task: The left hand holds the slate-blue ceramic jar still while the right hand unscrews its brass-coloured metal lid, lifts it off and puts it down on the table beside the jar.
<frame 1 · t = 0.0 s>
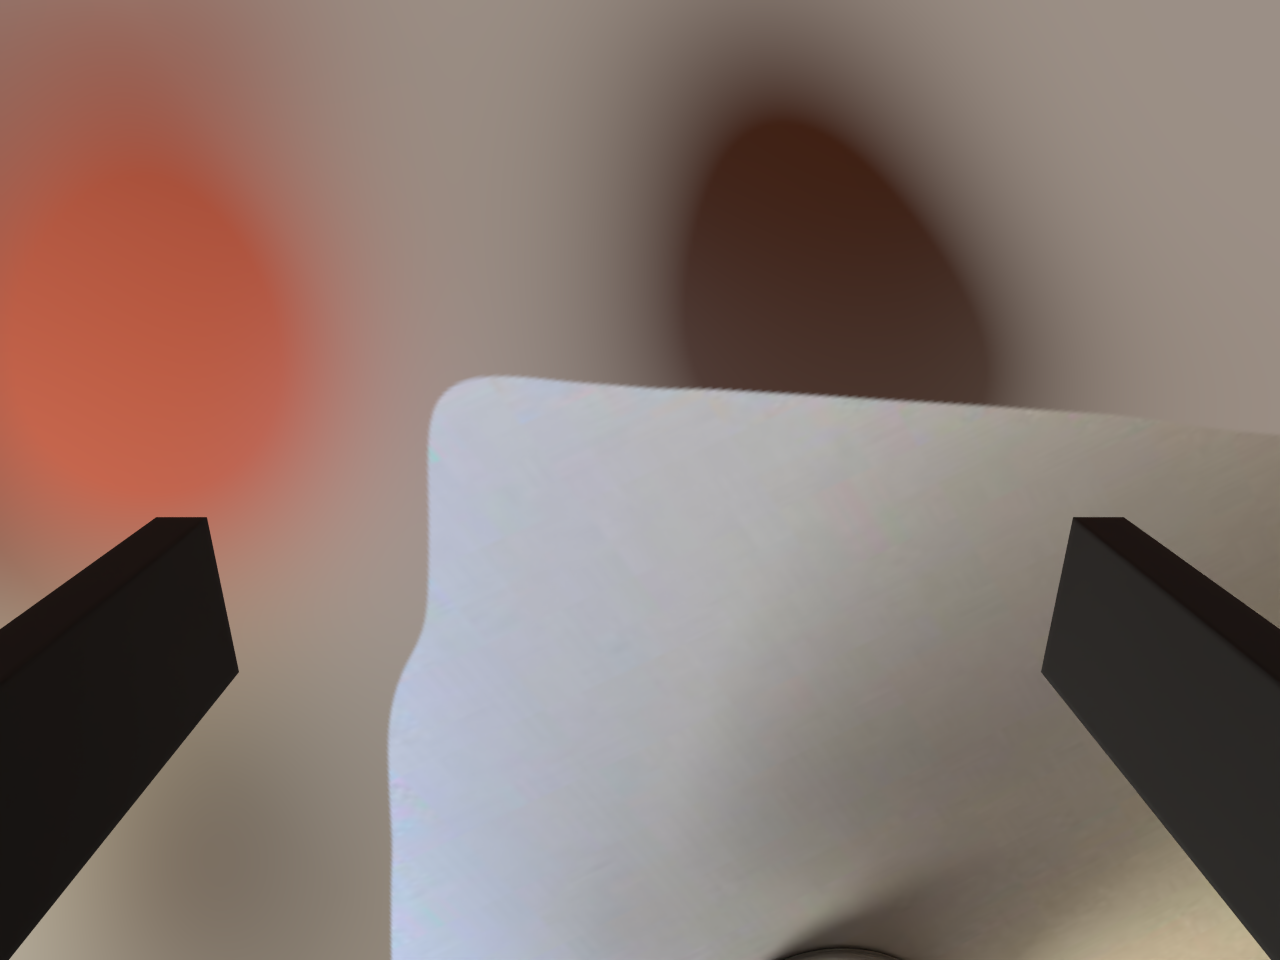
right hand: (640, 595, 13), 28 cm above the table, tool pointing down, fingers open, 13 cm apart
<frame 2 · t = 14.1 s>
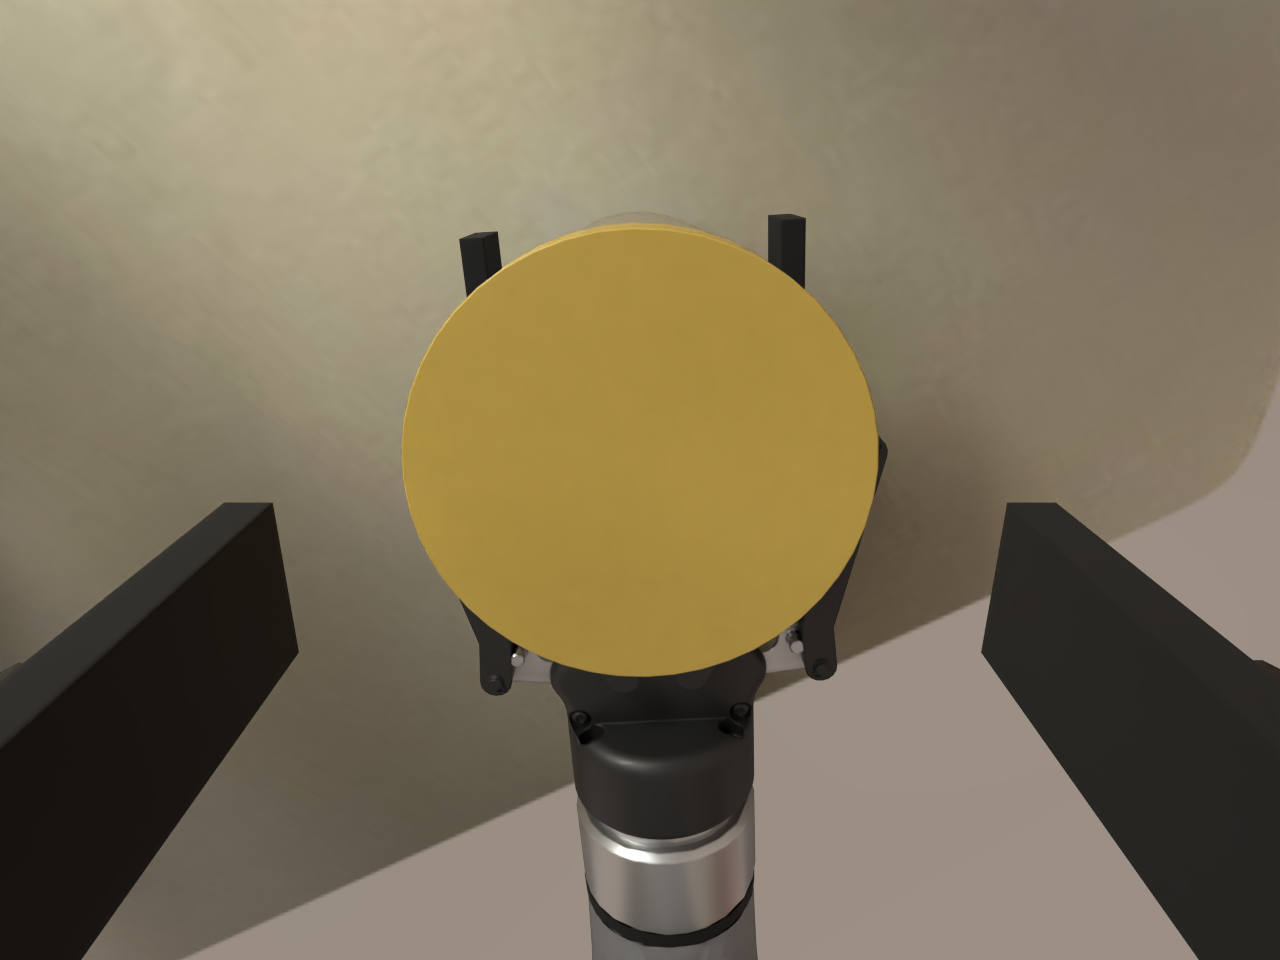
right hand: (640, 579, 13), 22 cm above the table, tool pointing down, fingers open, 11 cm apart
jar: (640, 329, 34), on the table, touching left hand
lid: (640, 470, 18), point 17 cm above the table, screwed on, not yet turned
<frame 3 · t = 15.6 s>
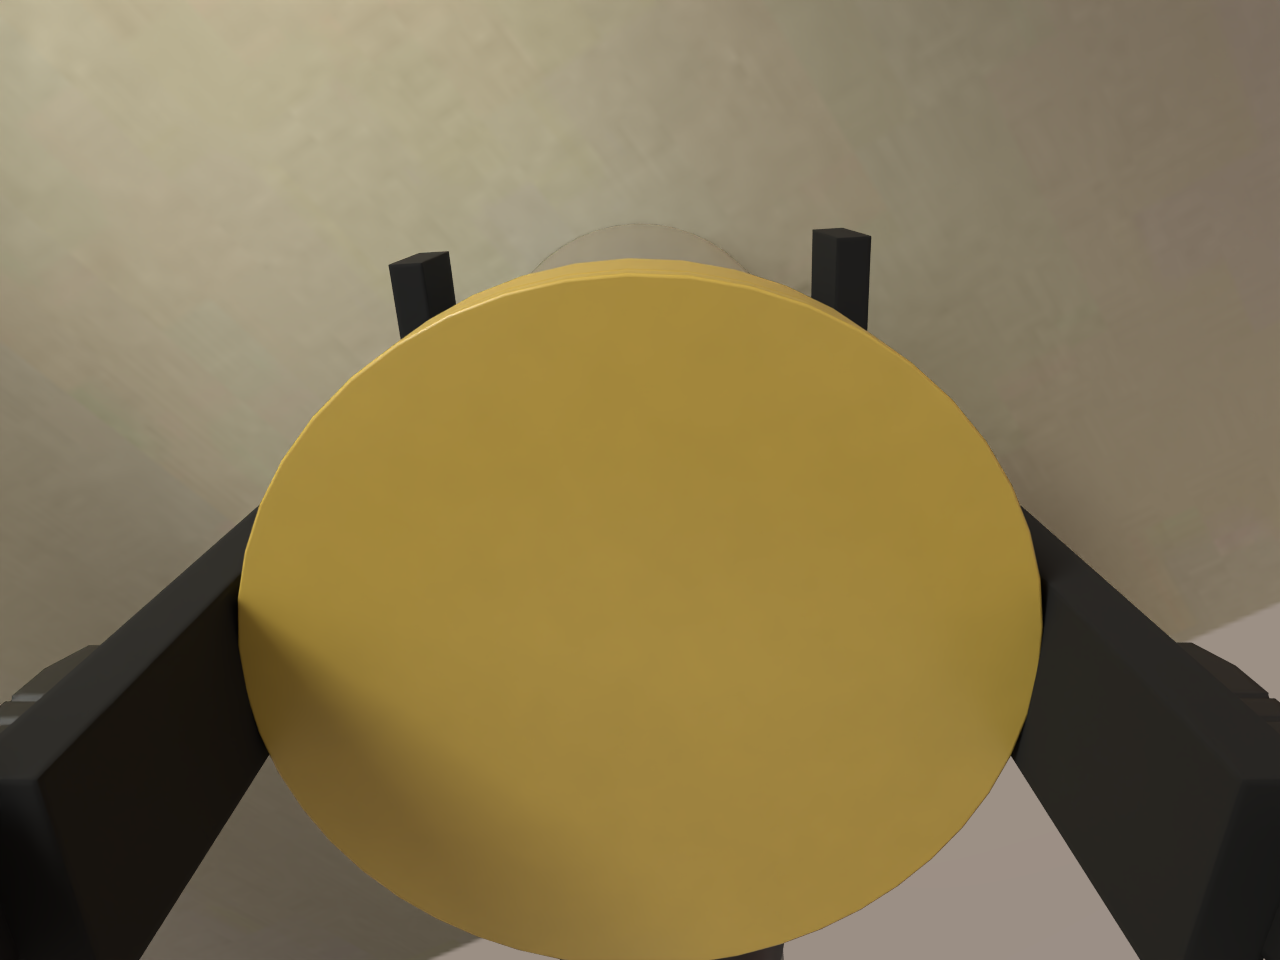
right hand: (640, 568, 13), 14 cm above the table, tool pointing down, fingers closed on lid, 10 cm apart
jar: (640, 371, 27), on the table, touching left hand
lid: (640, 665, 11), point 17 cm above the table, screwed on, not yet turned, touching right hand
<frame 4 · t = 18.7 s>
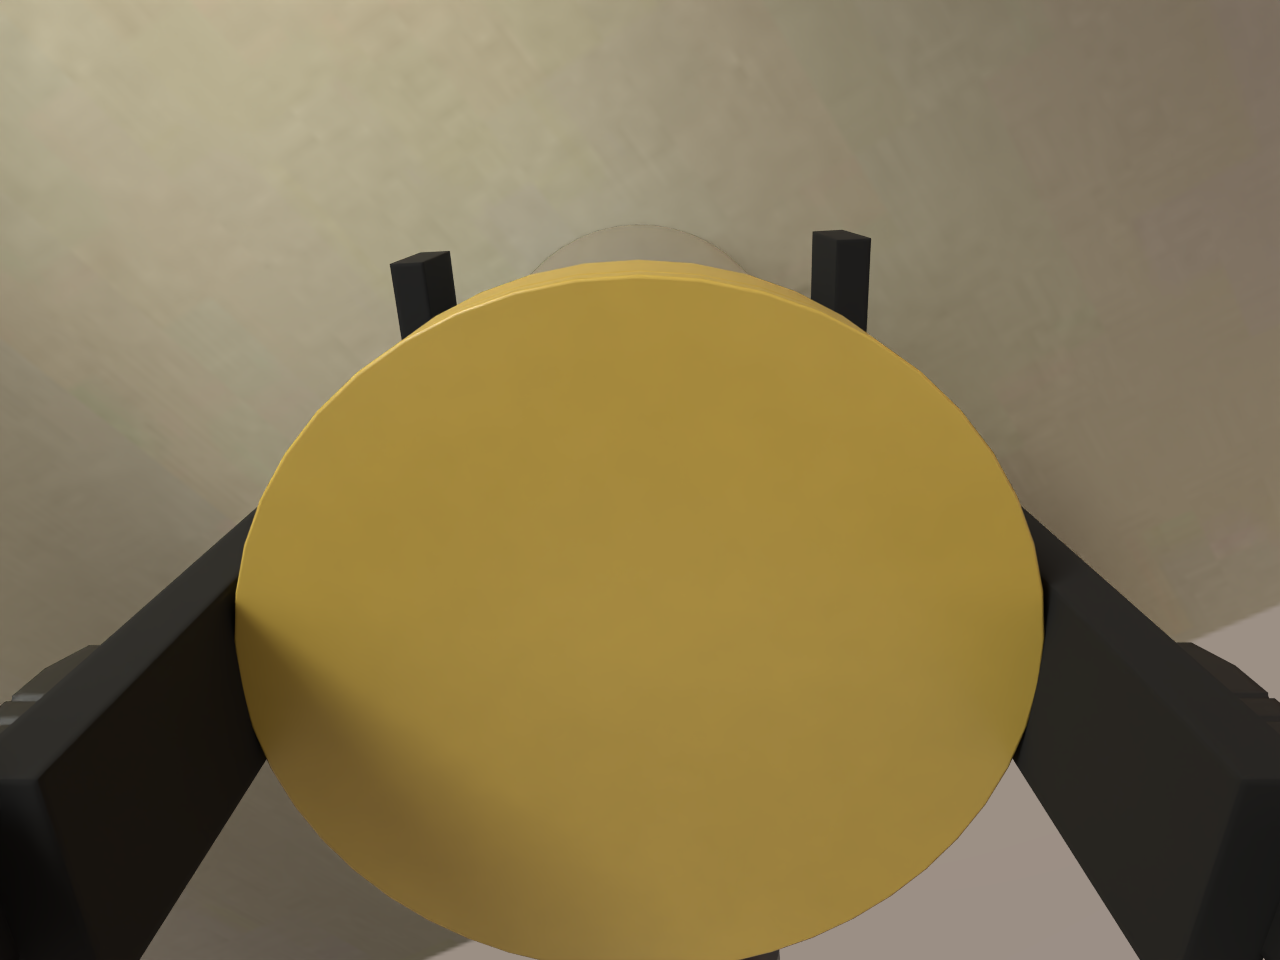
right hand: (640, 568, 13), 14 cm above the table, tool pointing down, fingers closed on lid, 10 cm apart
jar: (639, 371, 27), on the table, touching left hand
lid: (639, 669, 11), point 17 cm above the table, turned 96° so far, risen 0.1 cm, still on its thread, touching right hand
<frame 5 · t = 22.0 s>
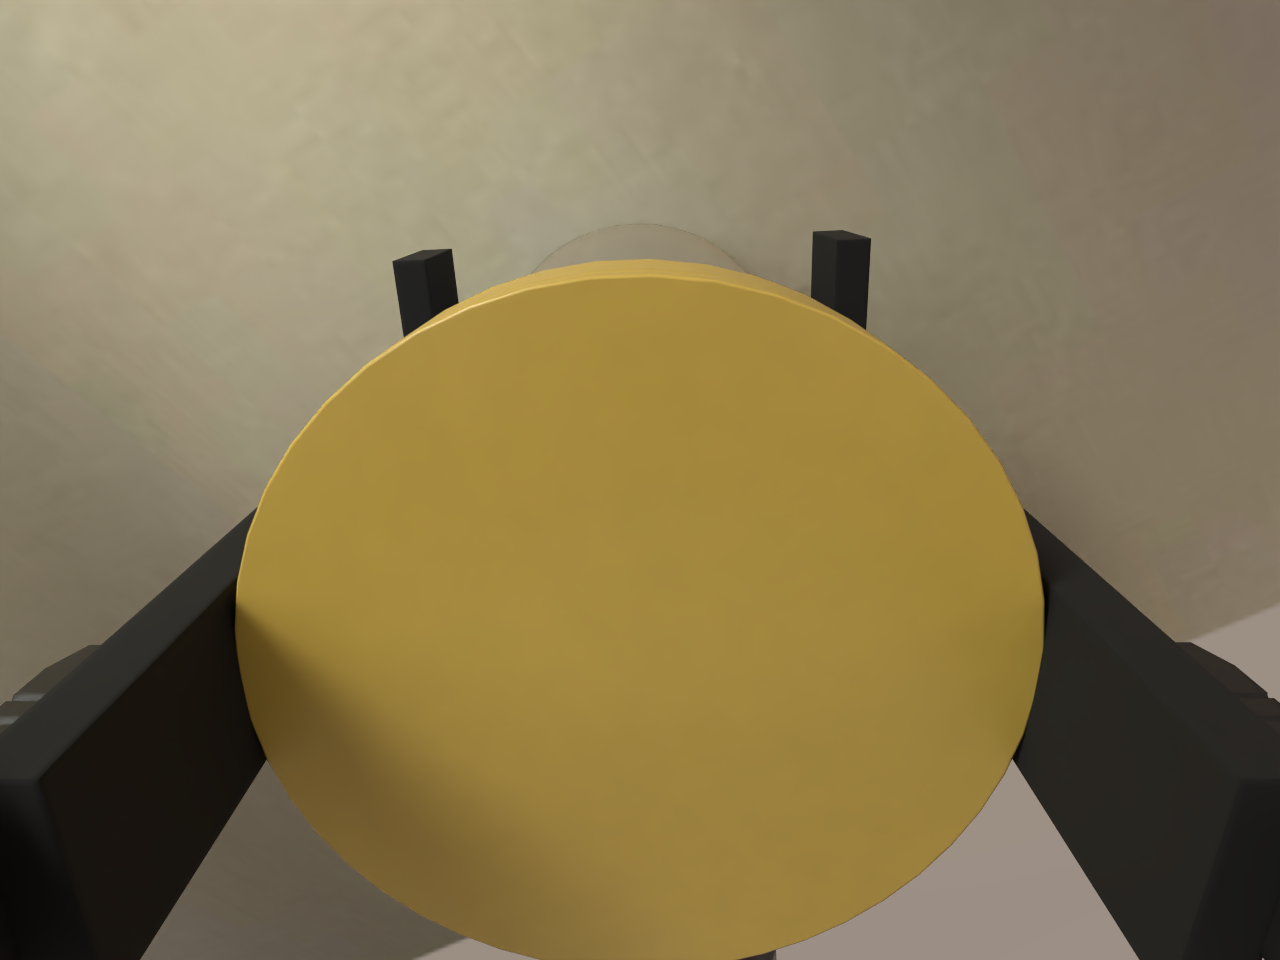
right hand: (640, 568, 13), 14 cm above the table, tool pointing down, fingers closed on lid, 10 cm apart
jar: (639, 370, 27), on the table, touching left hand
lid: (639, 668, 11), point 17 cm above the table, turned 193° so far, risen 0.2 cm, still on its thread, touching right hand
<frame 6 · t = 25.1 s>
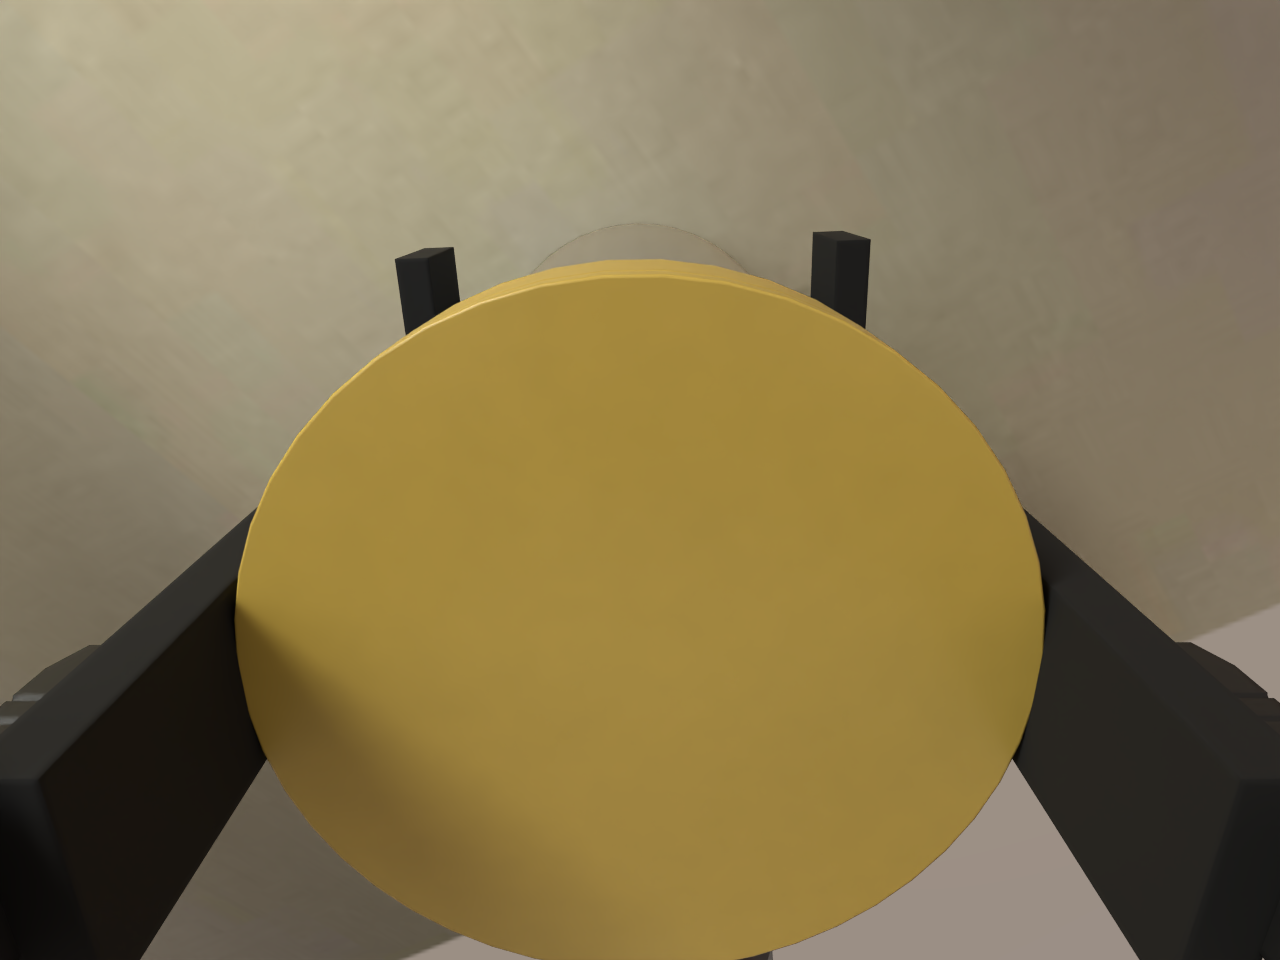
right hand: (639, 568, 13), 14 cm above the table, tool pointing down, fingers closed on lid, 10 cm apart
jar: (639, 369, 27), on the table, touching left hand
lid: (639, 668, 11), point 17 cm above the table, turned 289° so far, risen 0.4 cm, still on its thread, touching right hand
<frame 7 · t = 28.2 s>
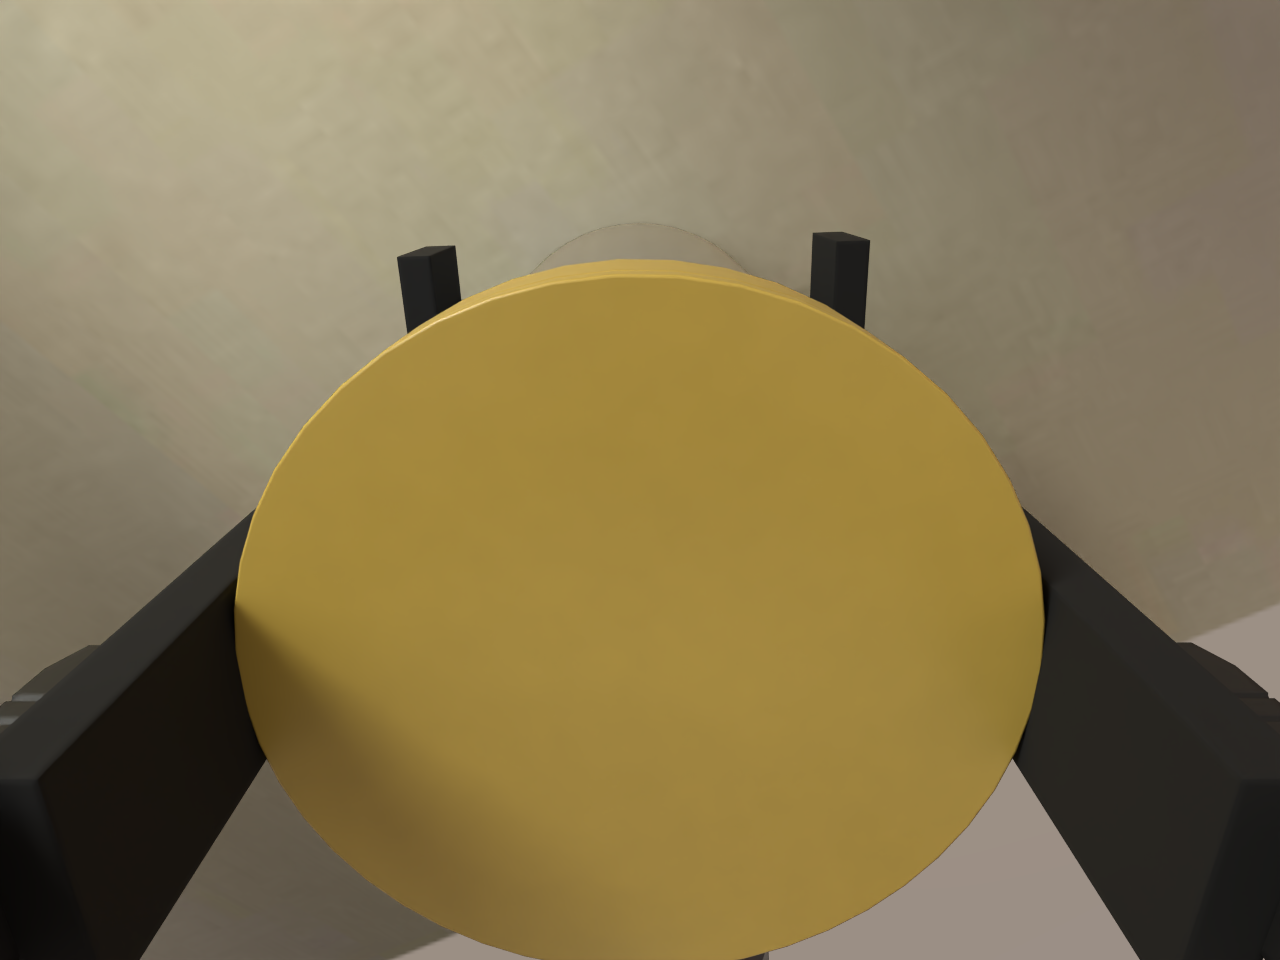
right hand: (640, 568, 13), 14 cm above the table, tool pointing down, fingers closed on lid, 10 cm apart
jar: (639, 368, 27), on the table, touching left hand
lid: (639, 668, 11), point 17 cm above the table, turned 385° so far, risen 0.5 cm, still on its thread, touching right hand
when the right hand's fingers open (0 cm above the table, at t = 34.3 s): lid drops 2 cm, point 1 cm above the table.
when the left hand's fingers open (6 cm above the table, at t = 36.0 s): jar stays where it is, on the table.
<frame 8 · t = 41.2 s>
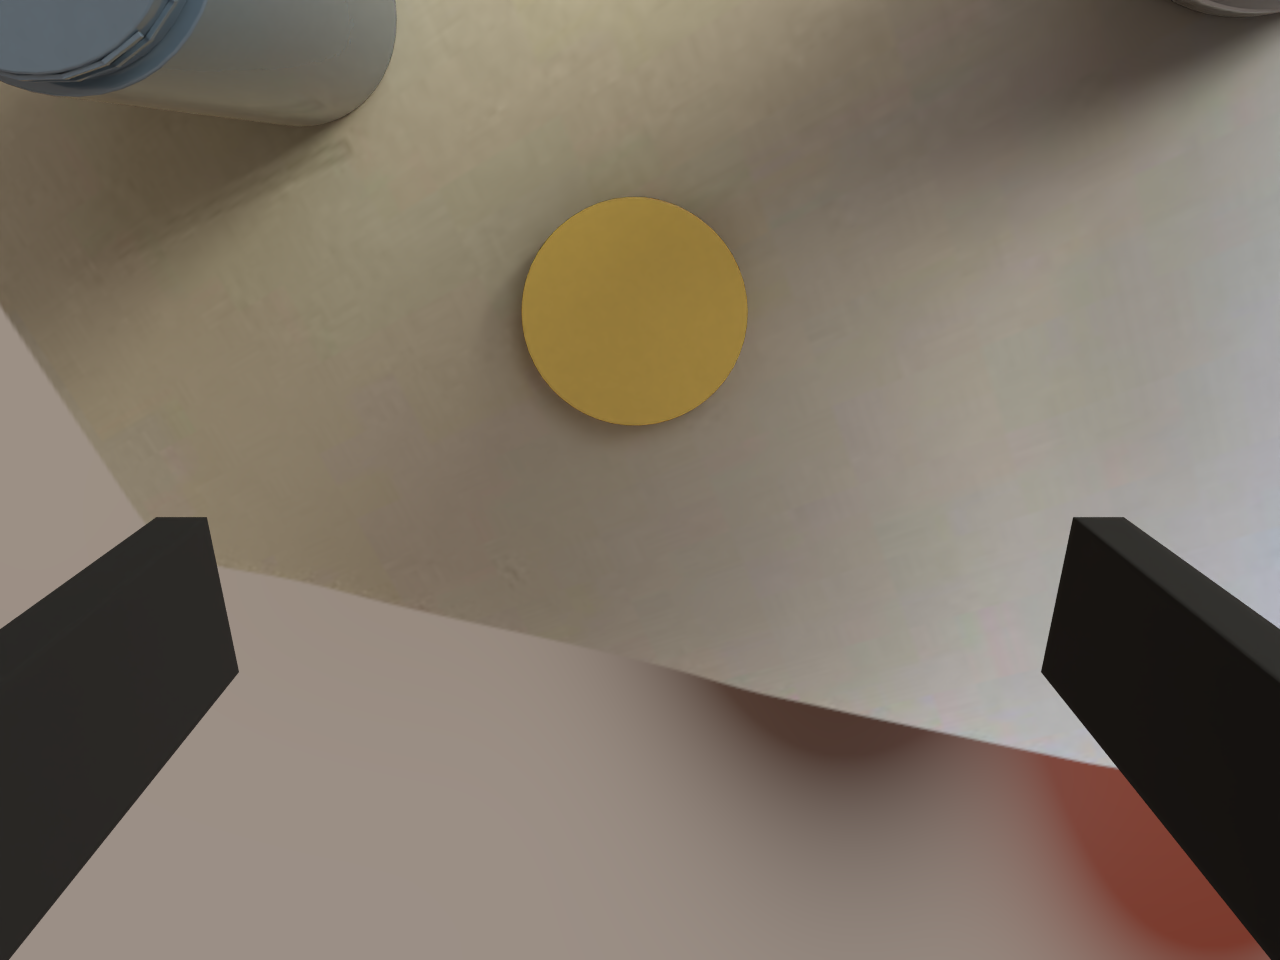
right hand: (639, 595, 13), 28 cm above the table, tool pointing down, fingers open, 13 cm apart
jar: (285, 6, 34), on the table
lid: (634, 316, 37), point 1 cm above the table, off its thread
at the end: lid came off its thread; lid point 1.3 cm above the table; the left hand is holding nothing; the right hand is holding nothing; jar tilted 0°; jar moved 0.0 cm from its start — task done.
